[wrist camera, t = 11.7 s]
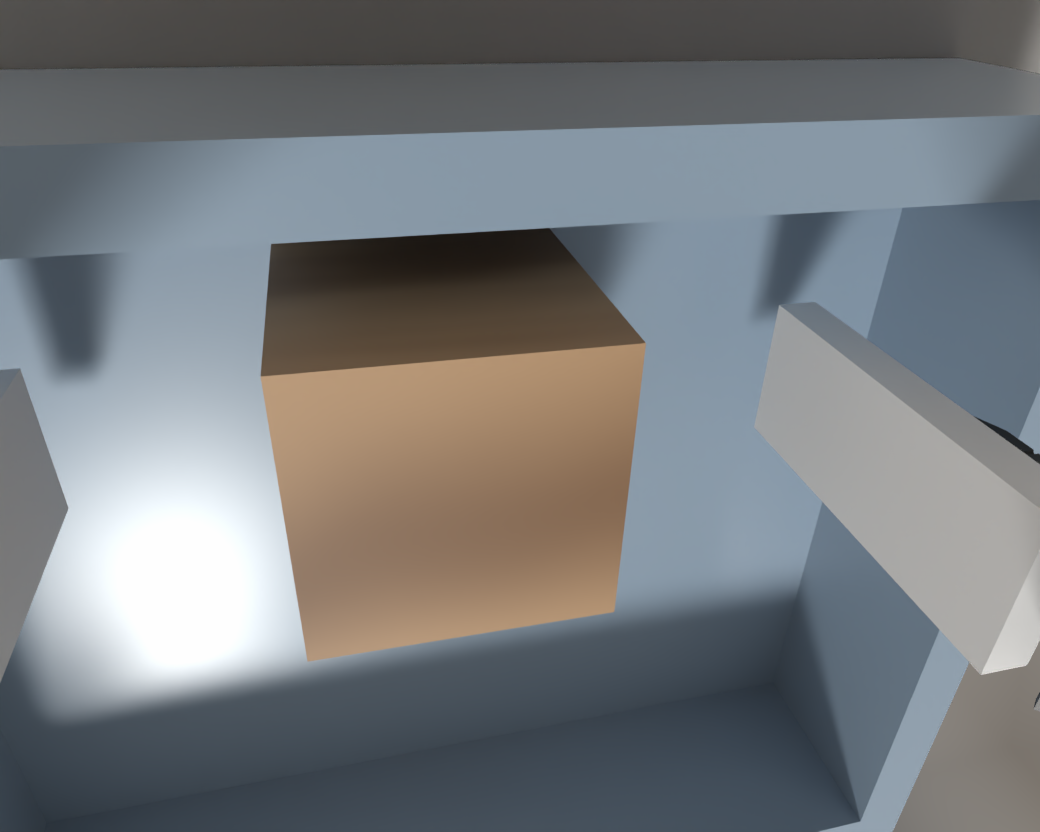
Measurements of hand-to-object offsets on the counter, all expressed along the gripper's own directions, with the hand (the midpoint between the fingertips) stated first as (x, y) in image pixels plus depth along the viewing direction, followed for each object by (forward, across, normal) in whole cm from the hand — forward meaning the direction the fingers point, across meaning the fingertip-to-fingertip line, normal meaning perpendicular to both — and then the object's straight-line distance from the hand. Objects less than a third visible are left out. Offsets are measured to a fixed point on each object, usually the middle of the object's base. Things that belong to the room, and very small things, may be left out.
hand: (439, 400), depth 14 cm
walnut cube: (+2, 0, 0) cm, 2 cm away
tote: (+3, 0, -4) cm, 5 cm away
